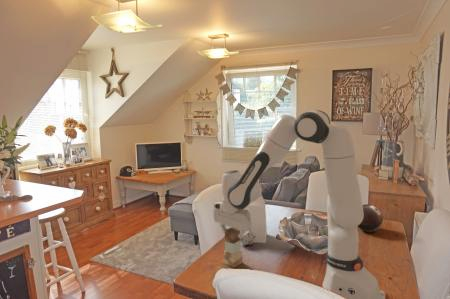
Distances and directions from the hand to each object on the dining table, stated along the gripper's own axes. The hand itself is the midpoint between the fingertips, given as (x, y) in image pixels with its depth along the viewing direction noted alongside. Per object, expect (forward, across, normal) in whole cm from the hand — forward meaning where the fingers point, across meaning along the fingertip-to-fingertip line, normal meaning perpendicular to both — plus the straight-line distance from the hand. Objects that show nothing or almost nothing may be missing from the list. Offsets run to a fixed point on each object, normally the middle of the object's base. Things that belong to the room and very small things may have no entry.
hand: (232, 235), depth 146 cm
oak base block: (+14, 0, 0) cm, 14 cm away
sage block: (+8, 0, 0) cm, 8 cm away
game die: (+14, +7, -19) cm, 24 cm away
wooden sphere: (+14, -34, -77) cm, 85 cm away
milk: (+14, +9, -29) cm, 33 cm away
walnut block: (+2, 0, 0) cm, 2 cm away
